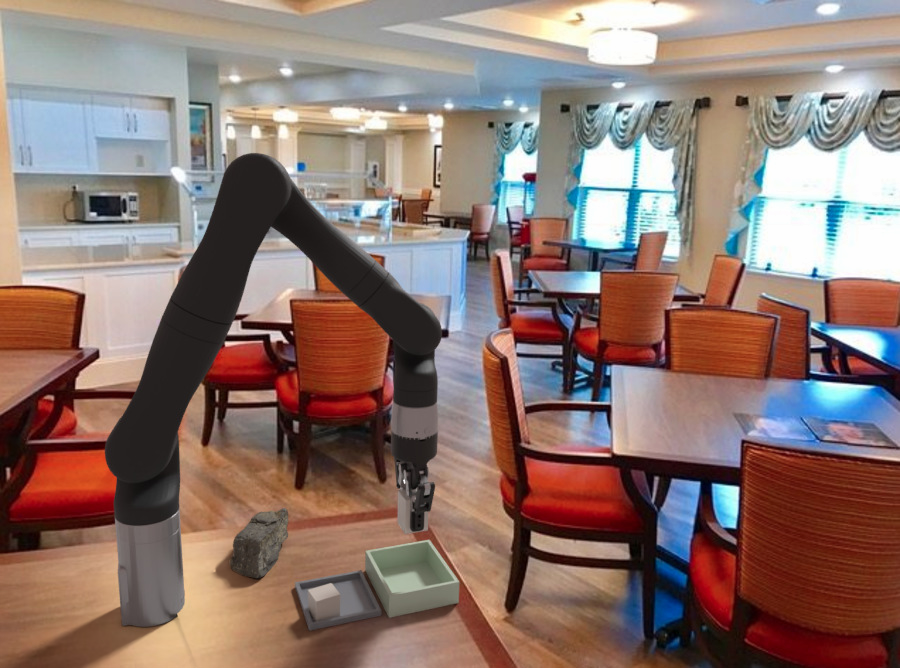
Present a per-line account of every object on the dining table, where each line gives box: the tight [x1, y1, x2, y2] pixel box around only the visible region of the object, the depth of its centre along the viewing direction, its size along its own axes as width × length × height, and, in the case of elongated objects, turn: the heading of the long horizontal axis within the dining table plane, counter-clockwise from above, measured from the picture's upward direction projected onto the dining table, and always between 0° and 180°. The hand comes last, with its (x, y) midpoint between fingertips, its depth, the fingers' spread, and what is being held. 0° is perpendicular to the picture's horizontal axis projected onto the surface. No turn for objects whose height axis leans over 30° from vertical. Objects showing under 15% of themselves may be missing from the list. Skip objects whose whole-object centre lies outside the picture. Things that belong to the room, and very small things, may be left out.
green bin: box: [364, 539, 460, 619], centre depth 121 cm, size 12×14×4 cm
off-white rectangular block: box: [397, 489, 429, 535], centre depth 118 cm, size 4×4×6 cm
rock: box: [228, 507, 289, 579], centre depth 128 cm, size 17×7×10 cm
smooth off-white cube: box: [308, 583, 340, 622], centre depth 112 cm, size 4×4×4 cm
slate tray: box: [294, 569, 382, 632], centre depth 116 cm, size 12×12×2 cm
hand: (412, 523), depth 118 cm, fingers closed on off-white rectangular block, 4 cm apart
